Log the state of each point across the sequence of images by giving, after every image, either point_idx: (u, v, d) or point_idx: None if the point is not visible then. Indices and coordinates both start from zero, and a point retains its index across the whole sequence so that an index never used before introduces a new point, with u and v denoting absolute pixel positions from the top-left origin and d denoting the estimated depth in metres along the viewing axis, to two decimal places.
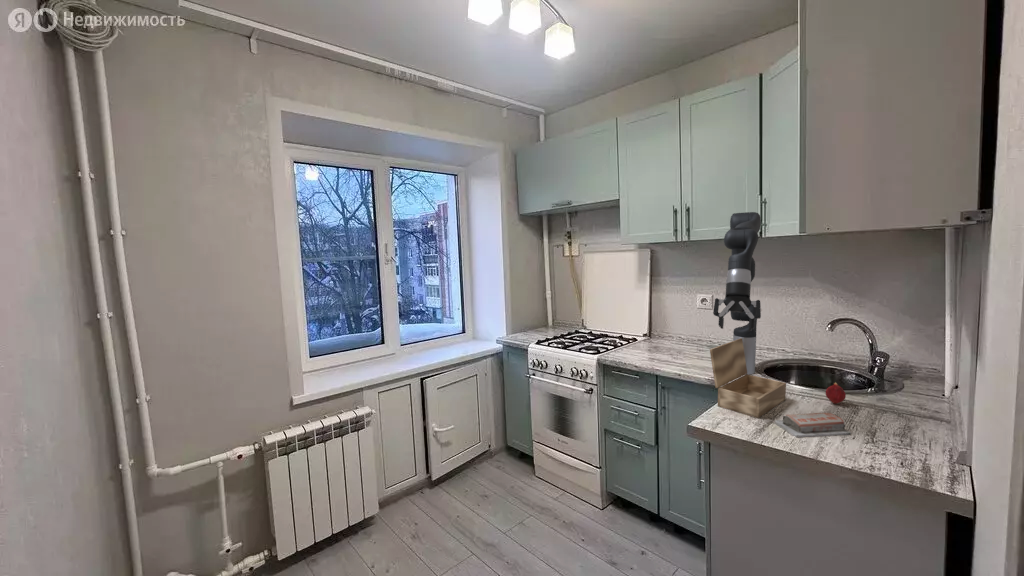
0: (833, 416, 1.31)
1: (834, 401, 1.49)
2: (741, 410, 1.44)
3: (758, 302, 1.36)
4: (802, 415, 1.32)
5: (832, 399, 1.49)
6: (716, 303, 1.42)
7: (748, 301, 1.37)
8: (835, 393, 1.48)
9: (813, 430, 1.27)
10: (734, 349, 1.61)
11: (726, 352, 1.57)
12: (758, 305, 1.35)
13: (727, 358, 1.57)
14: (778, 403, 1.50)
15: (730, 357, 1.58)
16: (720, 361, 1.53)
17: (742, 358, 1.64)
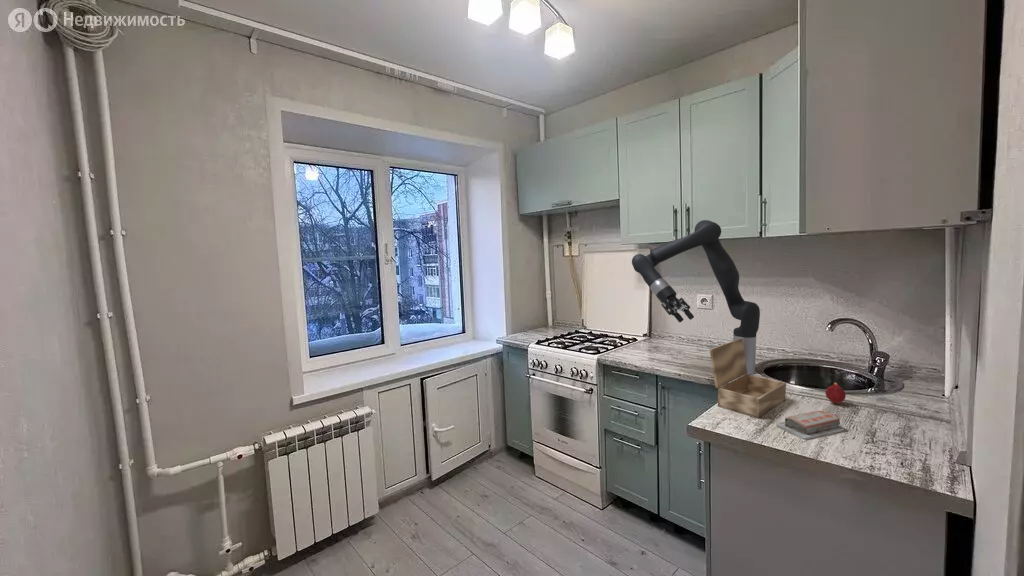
0: (828, 414, 1.32)
1: (834, 401, 1.49)
2: (741, 410, 1.44)
3: None
4: (802, 416, 1.31)
5: (832, 399, 1.49)
6: None
7: None
8: (835, 393, 1.48)
9: (816, 430, 1.27)
10: (734, 349, 1.61)
11: (726, 352, 1.57)
12: None
13: (727, 358, 1.57)
14: (778, 403, 1.50)
15: (730, 357, 1.58)
16: (720, 361, 1.53)
17: (742, 358, 1.64)
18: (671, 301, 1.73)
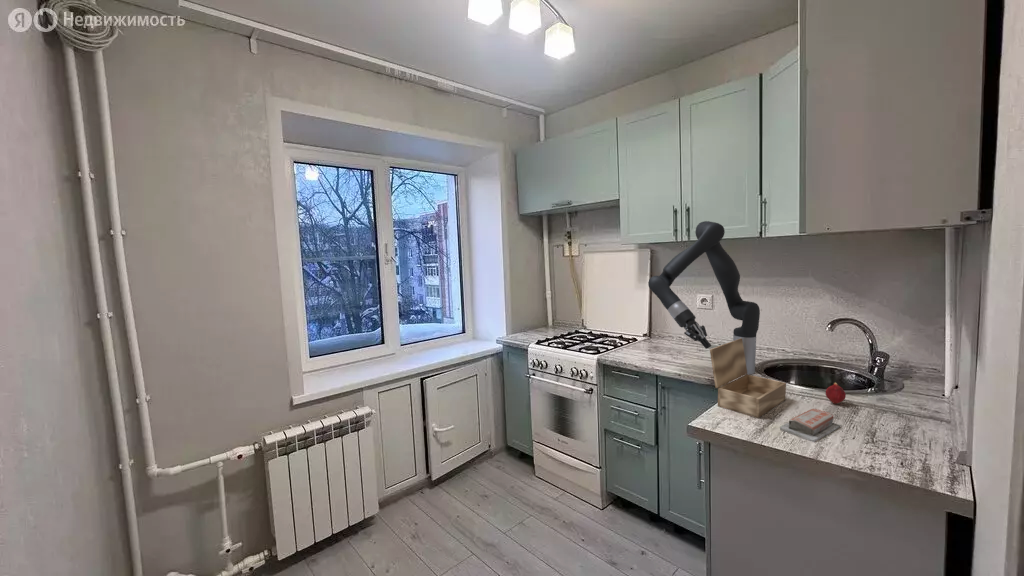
0: (821, 412, 1.34)
1: (834, 401, 1.49)
2: (741, 410, 1.44)
3: None
4: (802, 416, 1.31)
5: (832, 399, 1.49)
6: None
7: None
8: (835, 393, 1.48)
9: (820, 430, 1.27)
10: (734, 349, 1.61)
11: (726, 352, 1.57)
12: None
13: (727, 358, 1.57)
14: (778, 403, 1.50)
15: (730, 357, 1.58)
16: (720, 361, 1.53)
17: (742, 358, 1.64)
18: (691, 327, 1.67)
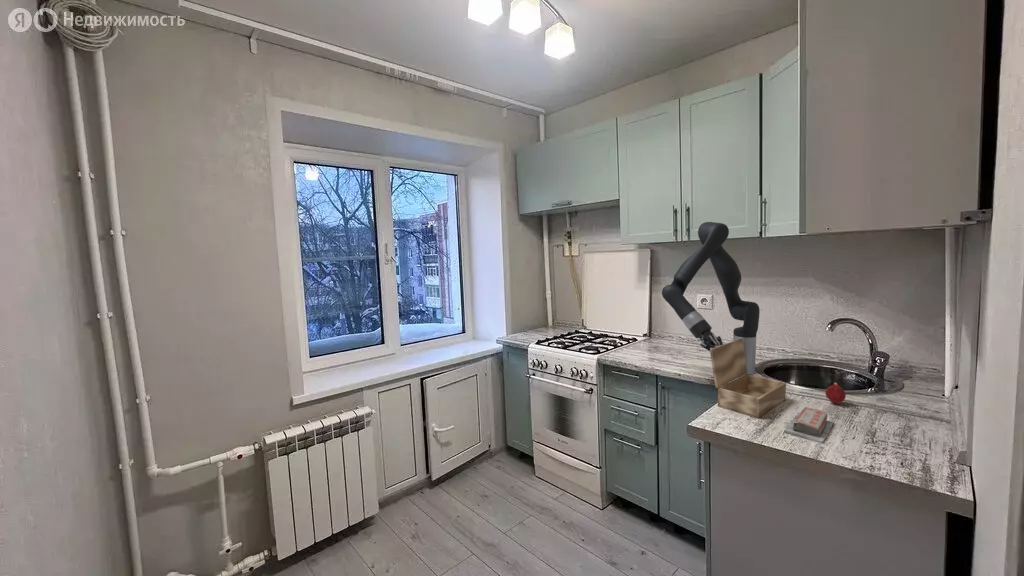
0: (816, 410, 1.36)
1: (834, 401, 1.49)
2: (741, 410, 1.44)
3: None
4: (803, 417, 1.30)
5: (832, 399, 1.49)
6: None
7: None
8: (835, 393, 1.48)
9: (822, 430, 1.27)
10: (734, 349, 1.60)
11: (726, 352, 1.57)
12: None
13: (727, 358, 1.57)
14: (778, 403, 1.50)
15: (730, 357, 1.58)
16: (720, 361, 1.53)
17: (742, 358, 1.64)
18: (708, 338, 1.61)
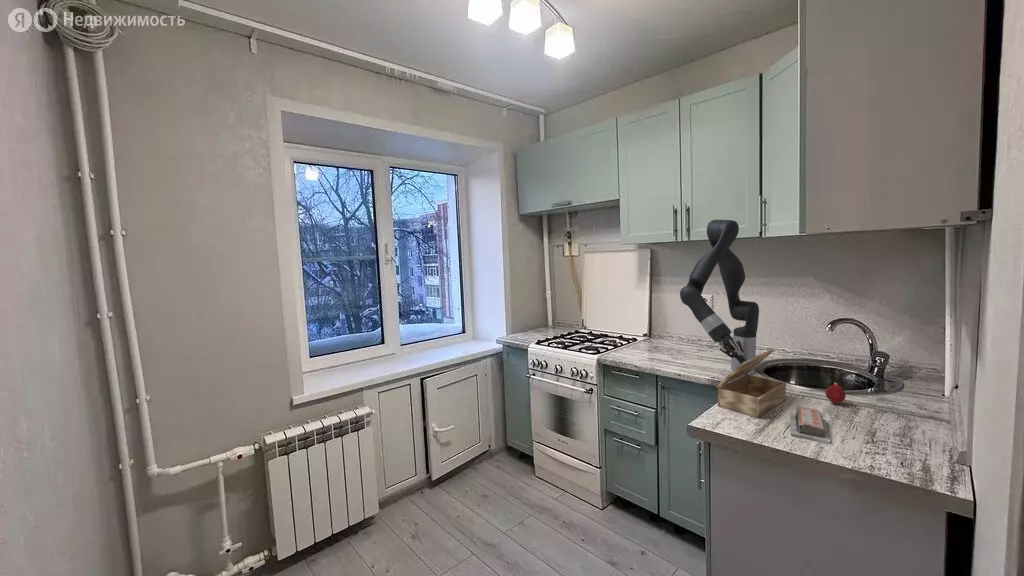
0: (809, 409, 1.37)
1: (834, 401, 1.49)
2: (741, 410, 1.44)
3: None
4: (805, 418, 1.30)
5: (832, 399, 1.49)
6: None
7: None
8: (835, 393, 1.48)
9: None
10: (759, 360, 1.54)
11: (751, 363, 1.50)
12: None
13: (747, 367, 1.51)
14: (778, 403, 1.50)
15: (749, 366, 1.53)
16: (740, 370, 1.48)
17: (756, 364, 1.60)
18: (727, 343, 1.55)
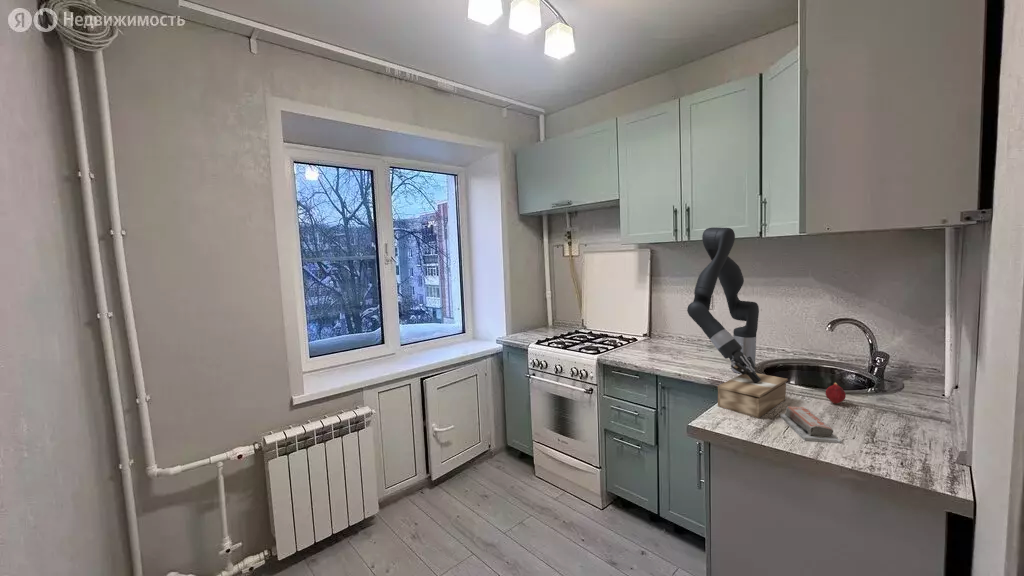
0: (799, 408, 1.38)
1: (834, 401, 1.49)
2: (741, 410, 1.44)
3: None
4: (807, 419, 1.29)
5: (832, 399, 1.49)
6: None
7: None
8: (835, 393, 1.48)
9: None
10: None
11: None
12: None
13: None
14: (778, 403, 1.50)
15: None
16: None
17: None
18: (738, 359, 1.52)
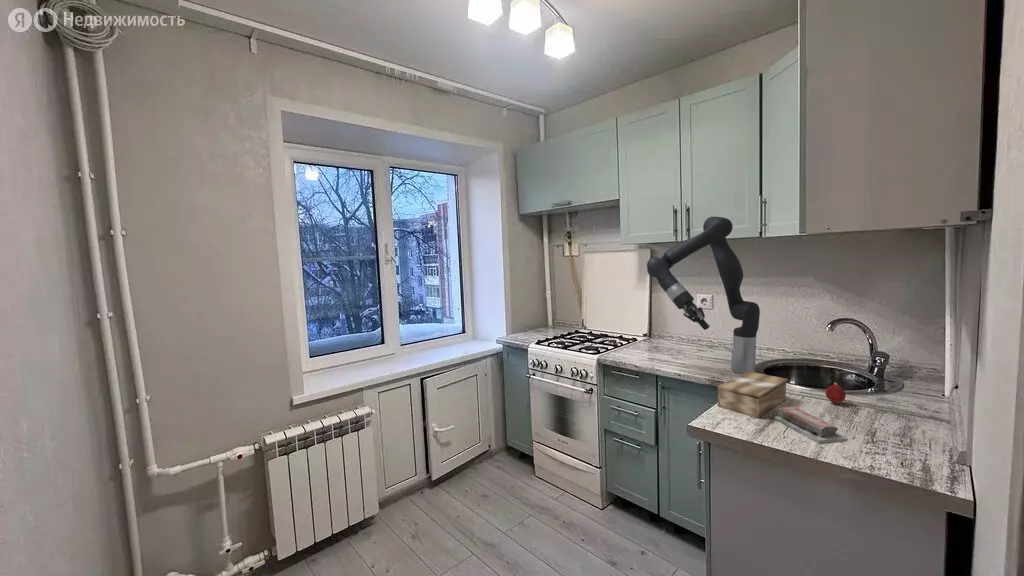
0: (791, 408, 1.38)
1: (834, 401, 1.49)
2: (741, 410, 1.44)
3: None
4: (811, 419, 1.29)
5: (832, 399, 1.49)
6: None
7: None
8: (835, 393, 1.48)
9: None
10: None
11: None
12: None
13: None
14: (778, 403, 1.50)
15: None
16: None
17: None
18: (690, 308, 1.67)
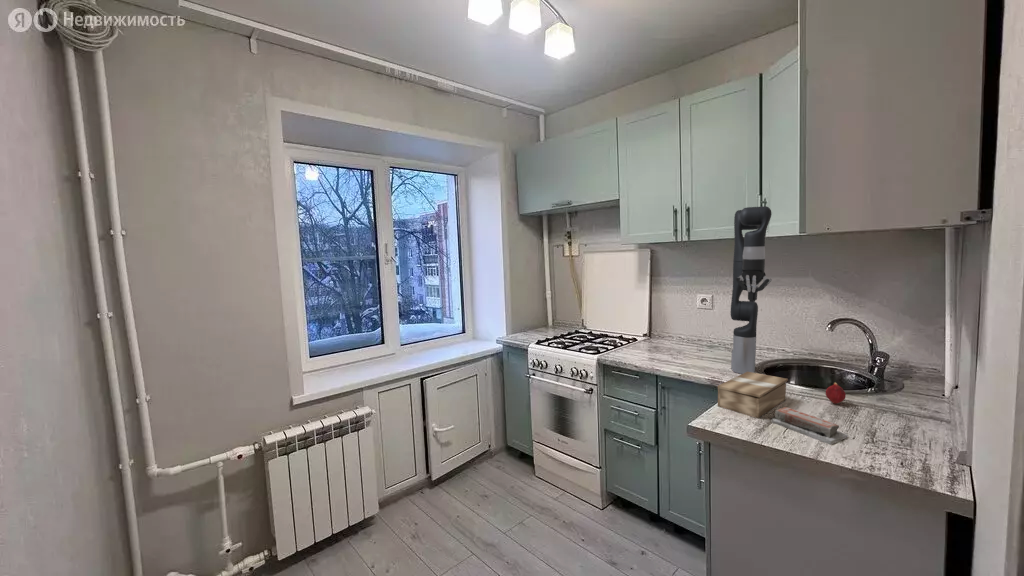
0: (786, 409, 1.37)
1: (834, 401, 1.49)
2: (741, 410, 1.44)
3: (766, 281, 1.55)
4: (813, 420, 1.28)
5: (832, 399, 1.49)
6: (739, 281, 1.63)
7: (761, 275, 1.57)
8: (835, 393, 1.48)
9: None
10: None
11: None
12: (764, 283, 1.56)
13: None
14: (778, 403, 1.50)
15: None
16: None
17: None
18: None
